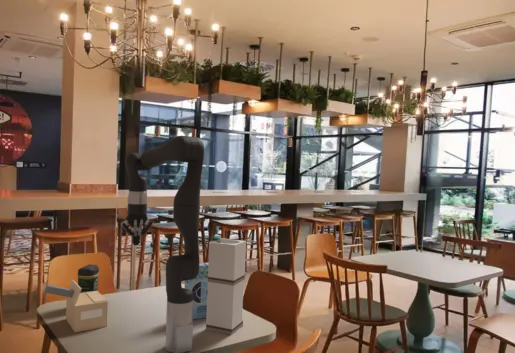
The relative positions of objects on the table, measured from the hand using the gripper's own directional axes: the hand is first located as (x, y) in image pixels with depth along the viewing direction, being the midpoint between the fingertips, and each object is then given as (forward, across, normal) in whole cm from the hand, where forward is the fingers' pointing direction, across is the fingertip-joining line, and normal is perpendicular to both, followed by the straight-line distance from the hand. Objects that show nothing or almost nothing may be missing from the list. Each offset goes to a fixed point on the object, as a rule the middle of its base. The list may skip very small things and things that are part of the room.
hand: (136, 245), depth 169 cm
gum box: (+32, +30, -6) cm, 44 cm away
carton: (+32, -16, +10) cm, 37 cm away
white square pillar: (+32, +30, -22) cm, 49 cm away
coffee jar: (+32, -11, +29) cm, 45 cm away
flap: (+19, -21, +10) cm, 30 cm away
